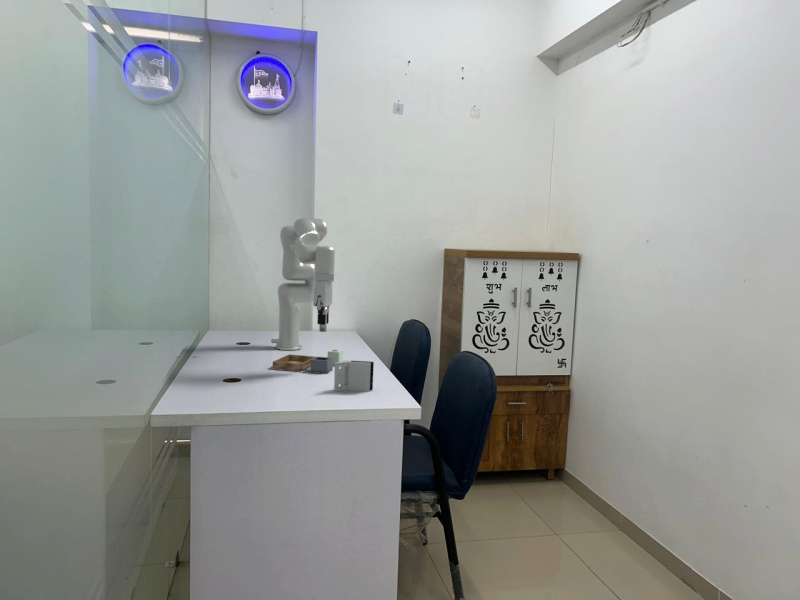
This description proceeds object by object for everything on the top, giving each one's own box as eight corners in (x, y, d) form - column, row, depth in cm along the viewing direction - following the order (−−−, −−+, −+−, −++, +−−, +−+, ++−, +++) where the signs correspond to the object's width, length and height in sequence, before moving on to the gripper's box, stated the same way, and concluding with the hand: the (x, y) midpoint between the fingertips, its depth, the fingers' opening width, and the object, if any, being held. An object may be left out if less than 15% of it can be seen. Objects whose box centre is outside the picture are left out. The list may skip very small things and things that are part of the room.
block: (310, 372, 224) (310, 359, 223) (316, 368, 231) (316, 356, 230) (327, 373, 223) (327, 361, 222) (332, 370, 229) (333, 357, 229)
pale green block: (327, 365, 238) (327, 351, 238) (331, 363, 243) (331, 349, 243) (338, 366, 237) (339, 351, 237) (342, 364, 242) (342, 349, 242)
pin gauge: (318, 331, 224) (318, 306, 223) (320, 330, 227) (321, 305, 226) (325, 332, 224) (325, 306, 223) (327, 331, 226) (328, 306, 226)
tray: (272, 369, 227) (272, 361, 226) (288, 361, 243) (288, 354, 243) (302, 371, 224) (302, 364, 224) (316, 363, 240) (316, 356, 240)
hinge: (334, 391, 196) (334, 363, 195) (332, 387, 201) (333, 360, 201) (373, 391, 199) (374, 363, 198) (371, 387, 204) (372, 360, 203)
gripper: (322, 276, 232) (320, 320, 234) (307, 278, 216) (306, 325, 218) (339, 277, 231) (338, 322, 232) (326, 279, 215) (325, 327, 216)
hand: (322, 323), depth 225 cm, fingers closed on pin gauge, 2 cm apart
